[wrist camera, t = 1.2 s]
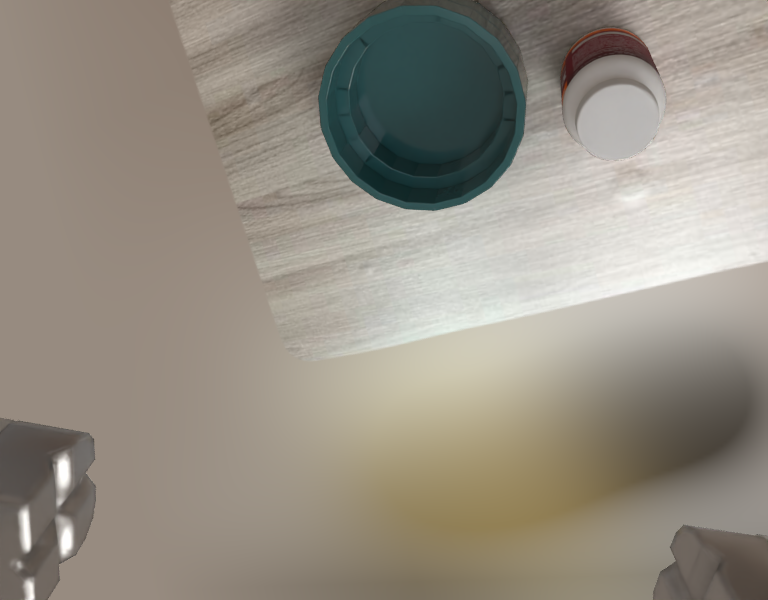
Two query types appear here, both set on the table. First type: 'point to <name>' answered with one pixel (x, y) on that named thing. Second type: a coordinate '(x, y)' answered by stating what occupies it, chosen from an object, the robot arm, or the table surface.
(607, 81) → the pill bottle
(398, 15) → the bowl
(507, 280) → the table surface
